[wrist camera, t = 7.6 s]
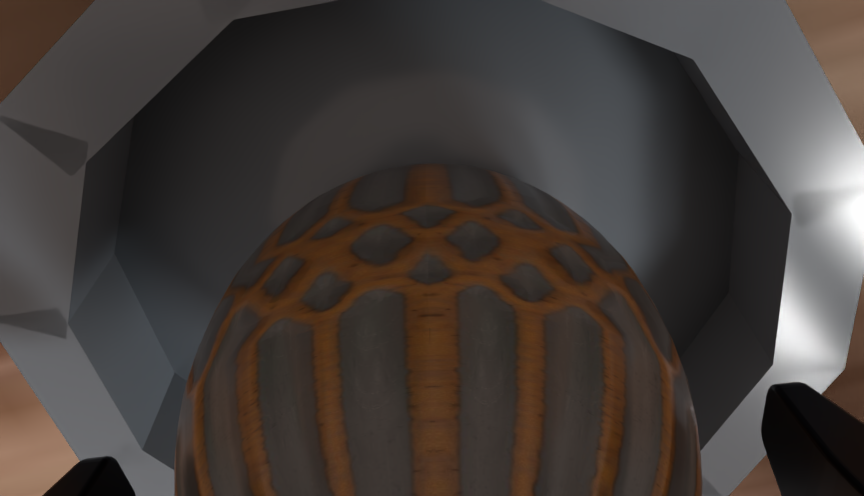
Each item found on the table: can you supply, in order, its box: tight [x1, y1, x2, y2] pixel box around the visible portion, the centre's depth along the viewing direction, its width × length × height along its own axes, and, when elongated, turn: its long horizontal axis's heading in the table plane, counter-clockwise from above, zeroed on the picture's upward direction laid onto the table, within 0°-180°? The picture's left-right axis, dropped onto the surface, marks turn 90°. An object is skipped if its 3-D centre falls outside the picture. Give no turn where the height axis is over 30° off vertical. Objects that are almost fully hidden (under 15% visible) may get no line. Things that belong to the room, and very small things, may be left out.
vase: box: [174, 163, 702, 496], centre depth 9 cm, size 7×7×9 cm
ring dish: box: [0, 0, 864, 496], centre depth 12 cm, size 14×14×2 cm
